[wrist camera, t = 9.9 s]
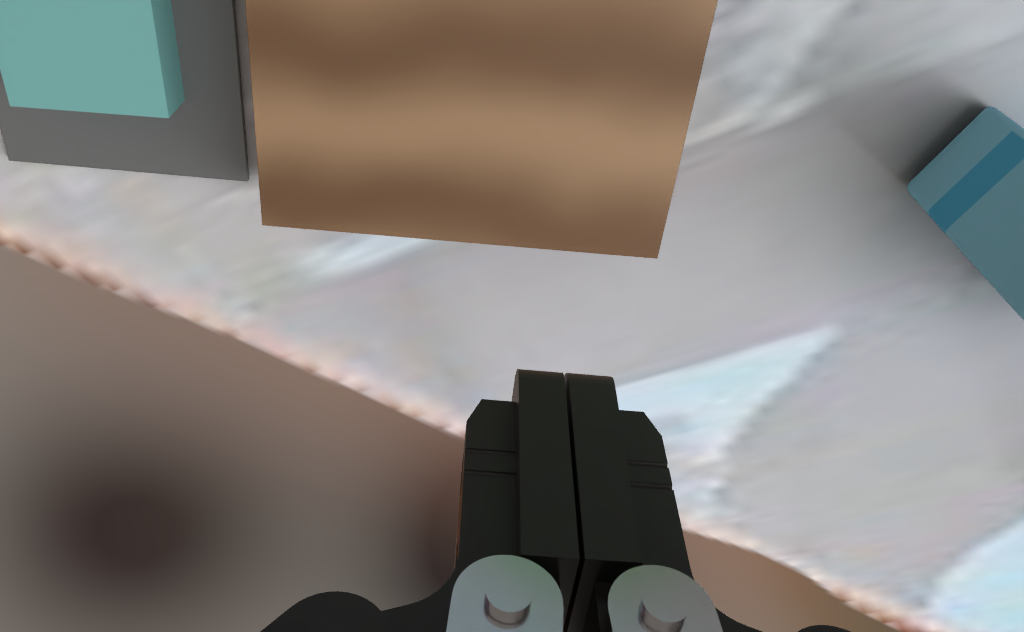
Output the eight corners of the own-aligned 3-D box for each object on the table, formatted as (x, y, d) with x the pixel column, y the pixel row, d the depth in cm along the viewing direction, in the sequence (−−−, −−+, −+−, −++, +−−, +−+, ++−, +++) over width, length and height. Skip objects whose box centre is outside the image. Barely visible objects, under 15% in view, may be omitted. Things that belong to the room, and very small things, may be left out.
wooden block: (258, -262, 27) (225, -262, 24) (732, -203, 28) (763, -196, 25) (284, 181, 36) (262, 225, 33) (643, 213, 37) (657, 258, 34)
